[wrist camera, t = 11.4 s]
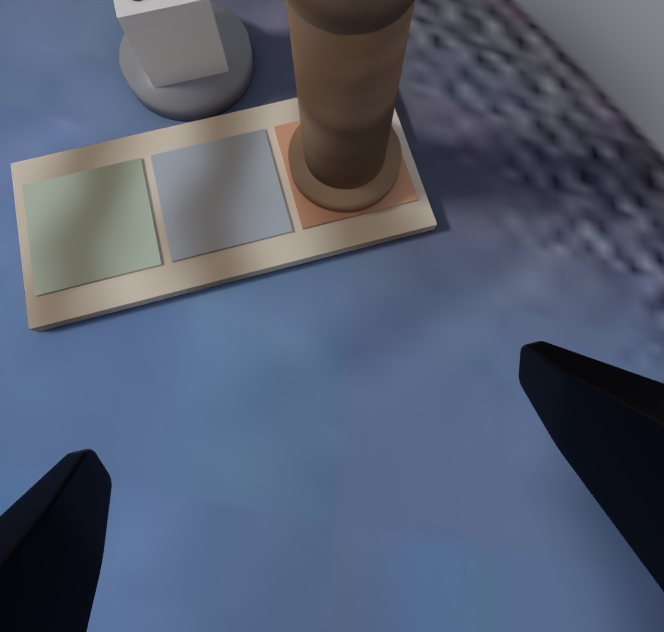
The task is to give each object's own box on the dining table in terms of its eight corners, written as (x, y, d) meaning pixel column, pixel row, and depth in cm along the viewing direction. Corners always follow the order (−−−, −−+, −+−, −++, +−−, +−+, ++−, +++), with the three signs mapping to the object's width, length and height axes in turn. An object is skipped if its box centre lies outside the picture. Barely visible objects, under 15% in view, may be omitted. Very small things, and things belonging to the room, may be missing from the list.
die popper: (239, 6, 25) (215, -100, 20) (266, 104, 23) (248, 15, 18) (120, 32, 25) (64, -71, 19) (140, 134, 23) (85, 51, 18)
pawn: (418, 143, 22) (522, -210, 10) (367, 231, 21) (412, -43, 9) (323, 99, 23) (308, -283, 10) (269, 182, 22) (180, -138, 9)
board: (382, 86, 24) (384, 76, 23) (434, 229, 22) (437, 223, 21) (19, 170, 22) (9, 162, 22) (37, 331, 20) (27, 328, 20)
